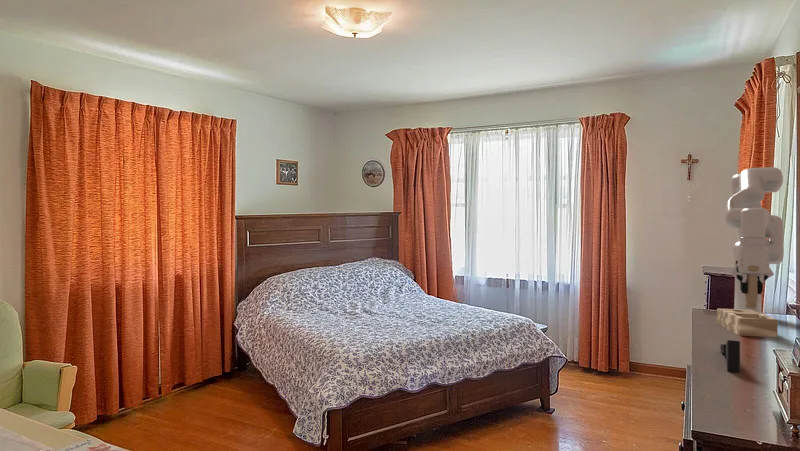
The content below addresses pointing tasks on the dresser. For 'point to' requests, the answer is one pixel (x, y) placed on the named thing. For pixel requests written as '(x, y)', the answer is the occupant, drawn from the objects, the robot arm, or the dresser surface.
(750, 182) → the robot arm
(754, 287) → the handle
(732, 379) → the dresser surface
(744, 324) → the socket block
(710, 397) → the dresser surface
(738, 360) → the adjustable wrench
